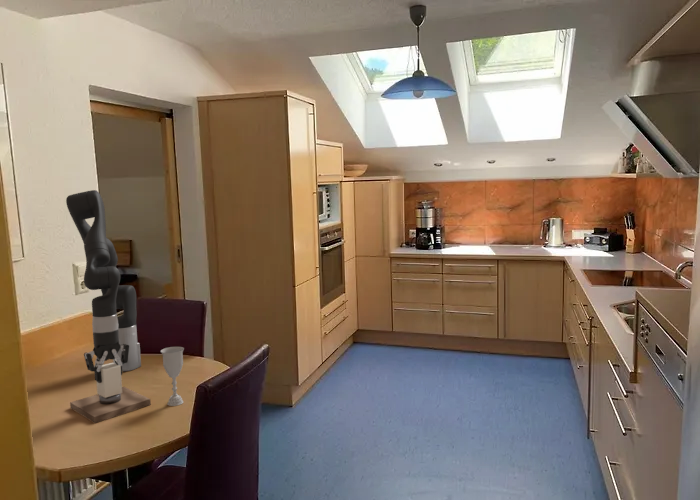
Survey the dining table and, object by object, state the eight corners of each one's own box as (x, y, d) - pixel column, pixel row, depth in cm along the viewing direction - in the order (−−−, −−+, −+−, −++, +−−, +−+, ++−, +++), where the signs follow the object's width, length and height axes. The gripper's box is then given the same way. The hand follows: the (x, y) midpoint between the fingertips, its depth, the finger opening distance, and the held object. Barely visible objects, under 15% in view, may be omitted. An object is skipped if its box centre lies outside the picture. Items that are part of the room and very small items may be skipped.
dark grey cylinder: (115, 395, 180) (113, 366, 179) (124, 400, 176) (122, 370, 175) (96, 401, 175) (93, 371, 174) (105, 406, 171) (102, 375, 170)
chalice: (165, 408, 173) (162, 354, 171) (162, 401, 179) (159, 348, 177) (188, 404, 176) (185, 350, 174) (184, 397, 182) (182, 345, 180)
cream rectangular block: (114, 388, 179) (112, 362, 178) (122, 392, 175) (120, 365, 174) (97, 393, 175) (95, 366, 174) (105, 397, 171) (103, 370, 170)
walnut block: (124, 392, 188) (124, 386, 188) (150, 404, 176) (150, 398, 176) (70, 408, 175) (70, 402, 175) (94, 423, 163) (94, 416, 163)
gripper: (122, 322, 181) (125, 371, 182) (77, 331, 170) (81, 383, 172) (132, 326, 176) (135, 376, 177) (87, 335, 165) (91, 388, 167)
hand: (108, 379), depth 175 cm, fingers closed on cream rectangular block, 5 cm apart
